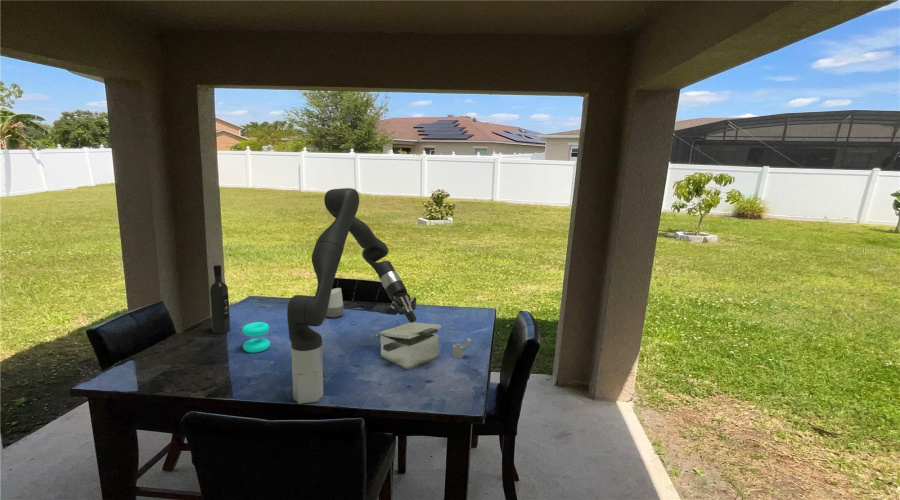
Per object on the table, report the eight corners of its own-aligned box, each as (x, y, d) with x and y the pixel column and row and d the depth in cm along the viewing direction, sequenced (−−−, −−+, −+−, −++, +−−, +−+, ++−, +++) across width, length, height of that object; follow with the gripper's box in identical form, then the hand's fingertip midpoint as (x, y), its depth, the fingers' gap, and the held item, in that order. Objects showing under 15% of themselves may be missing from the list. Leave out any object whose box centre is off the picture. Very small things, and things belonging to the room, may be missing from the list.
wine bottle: (231, 329, 196) (227, 264, 191) (223, 334, 191) (219, 267, 186) (219, 329, 197) (215, 264, 192) (211, 333, 191) (206, 266, 186)
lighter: (452, 356, 174) (452, 337, 172) (453, 355, 175) (453, 336, 174) (469, 358, 172) (470, 339, 171) (470, 357, 174) (471, 338, 172)
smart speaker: (324, 313, 222) (323, 287, 220) (342, 312, 225) (342, 286, 222) (324, 319, 213) (324, 292, 211) (344, 318, 216) (343, 291, 213)
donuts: (268, 328, 172) (240, 330, 168) (270, 352, 174) (242, 355, 170) (269, 320, 181) (243, 322, 178) (270, 342, 183) (244, 345, 179)
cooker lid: (379, 335, 170) (379, 332, 170) (411, 324, 182) (411, 322, 182) (415, 339, 156) (414, 336, 156) (447, 328, 168) (447, 325, 168)
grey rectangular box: (371, 359, 169) (371, 335, 168) (416, 342, 187) (416, 321, 185) (399, 372, 158) (400, 347, 157) (445, 354, 176) (445, 331, 174)
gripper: (384, 282, 167) (405, 320, 161) (410, 277, 177) (430, 313, 171) (376, 293, 172) (396, 330, 166) (401, 287, 182) (421, 322, 175)
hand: (413, 321), depth 168 cm, fingers closed
